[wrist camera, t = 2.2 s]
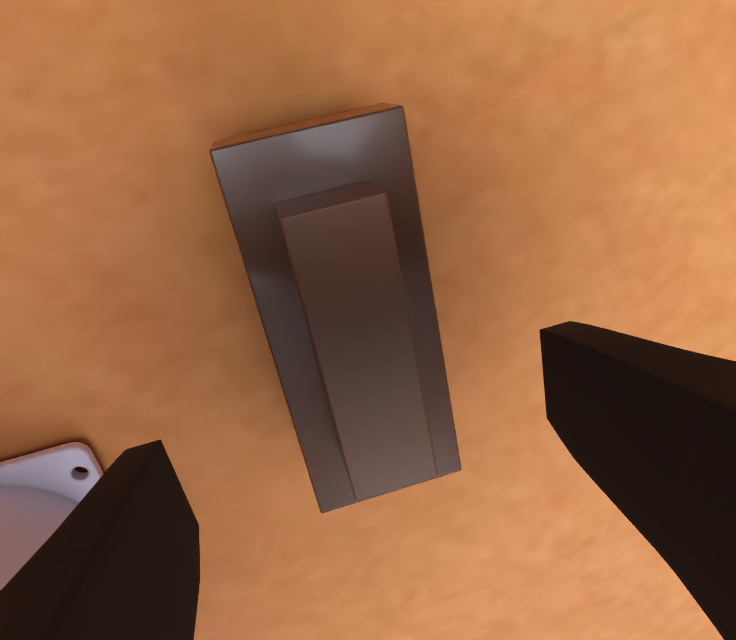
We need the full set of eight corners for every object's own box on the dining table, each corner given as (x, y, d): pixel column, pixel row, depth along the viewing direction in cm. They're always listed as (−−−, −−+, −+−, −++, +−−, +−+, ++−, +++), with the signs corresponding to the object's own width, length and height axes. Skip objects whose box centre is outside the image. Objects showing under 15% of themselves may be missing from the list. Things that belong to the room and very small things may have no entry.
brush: (428, 412, 21) (481, 504, 16) (308, 447, 20) (328, 553, 16) (371, 100, 16) (423, 107, 12) (214, 137, 16) (204, 158, 11)
